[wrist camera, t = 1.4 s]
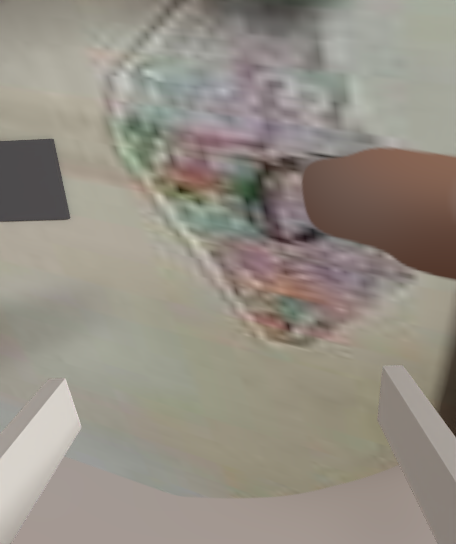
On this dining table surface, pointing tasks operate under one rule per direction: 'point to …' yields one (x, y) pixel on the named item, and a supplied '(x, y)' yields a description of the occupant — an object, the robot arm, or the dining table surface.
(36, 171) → the mat
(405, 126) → the dining table surface
